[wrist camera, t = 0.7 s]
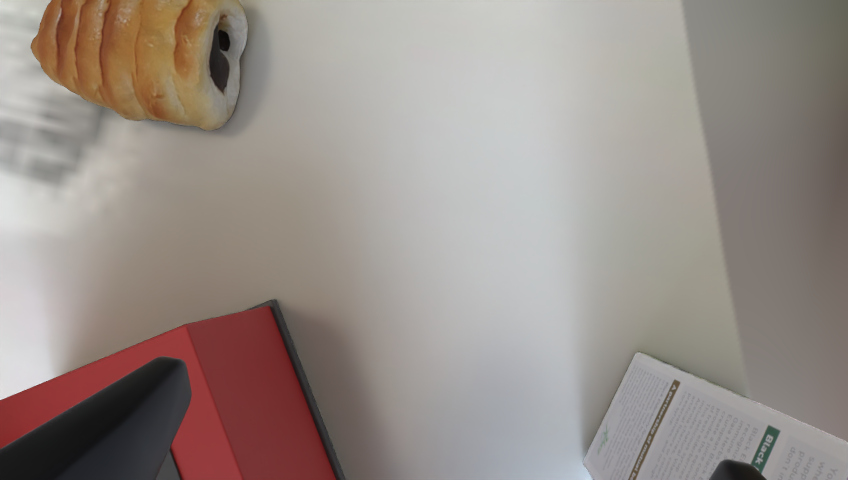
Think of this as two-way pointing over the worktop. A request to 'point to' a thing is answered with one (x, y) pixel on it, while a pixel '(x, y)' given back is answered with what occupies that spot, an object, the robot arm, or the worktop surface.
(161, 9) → the pastry
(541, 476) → the worktop surface
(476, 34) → the worktop surface
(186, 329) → the toaster
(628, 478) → the syrup box
